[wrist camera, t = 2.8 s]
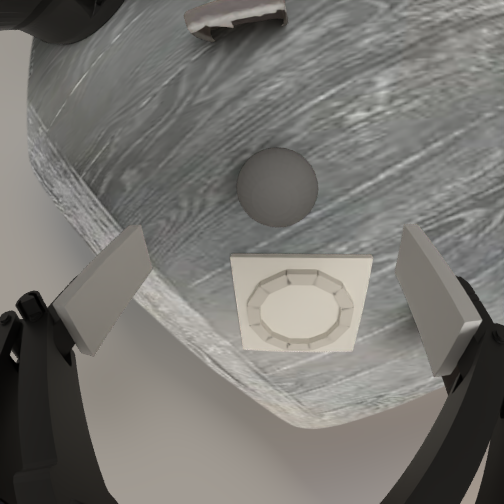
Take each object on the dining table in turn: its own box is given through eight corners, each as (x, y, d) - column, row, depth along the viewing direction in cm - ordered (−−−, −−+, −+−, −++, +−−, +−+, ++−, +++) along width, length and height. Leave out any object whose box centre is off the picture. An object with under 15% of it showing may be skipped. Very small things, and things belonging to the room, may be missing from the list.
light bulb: (242, 181, 28) (218, 223, 20) (263, 126, 25) (246, 142, 16) (297, 202, 28) (298, 254, 20) (322, 150, 25) (336, 179, 17)
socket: (244, 345, 41) (242, 354, 39) (231, 253, 33) (228, 262, 31) (351, 347, 38) (353, 356, 37) (371, 254, 30) (374, 263, 29)
